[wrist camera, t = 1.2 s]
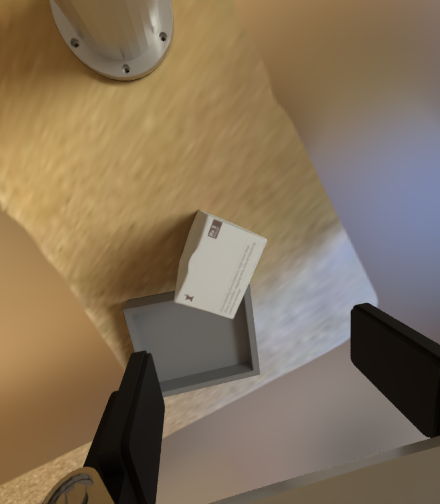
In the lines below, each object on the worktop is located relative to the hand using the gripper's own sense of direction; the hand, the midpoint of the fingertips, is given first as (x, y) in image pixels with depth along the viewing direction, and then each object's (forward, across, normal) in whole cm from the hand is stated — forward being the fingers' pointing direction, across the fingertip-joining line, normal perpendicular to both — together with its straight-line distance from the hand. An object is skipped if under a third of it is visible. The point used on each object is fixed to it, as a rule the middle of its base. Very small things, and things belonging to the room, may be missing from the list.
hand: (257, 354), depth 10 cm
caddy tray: (+25, +4, +14) cm, 29 cm away
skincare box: (+25, 0, -1) cm, 25 cm away
